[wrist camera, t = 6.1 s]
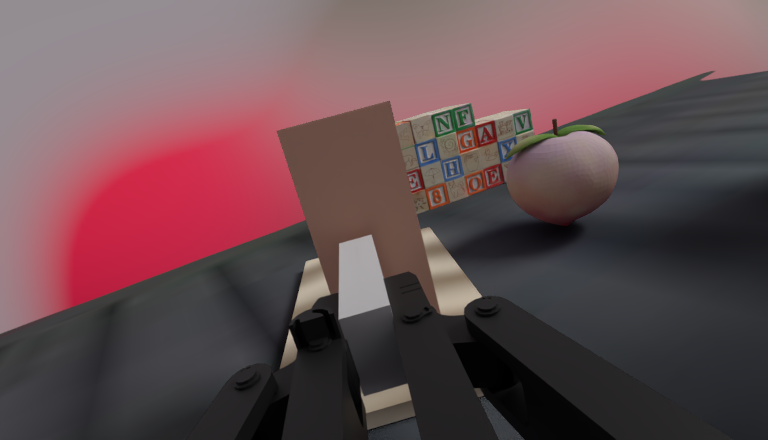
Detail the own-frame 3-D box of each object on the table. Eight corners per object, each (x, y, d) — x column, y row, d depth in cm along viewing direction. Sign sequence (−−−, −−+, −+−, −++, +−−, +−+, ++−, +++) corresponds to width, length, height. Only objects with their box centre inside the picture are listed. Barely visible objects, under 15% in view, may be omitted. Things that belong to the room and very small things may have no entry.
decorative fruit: (560, 256, 31) (544, 133, 28) (501, 232, 38) (484, 133, 36) (649, 219, 33) (643, 101, 30) (576, 203, 41) (566, 108, 38)
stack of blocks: (513, 168, 62) (501, 90, 58) (540, 171, 56) (528, 85, 53) (393, 209, 57) (372, 127, 53) (409, 218, 51) (386, 126, 47)
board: (536, 380, 19) (533, 364, 19) (268, 459, 19) (261, 443, 19) (431, 235, 42) (429, 227, 42) (308, 269, 42) (306, 261, 42)
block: (453, 366, 20) (389, 100, 16) (363, 393, 20) (276, 130, 16) (432, 318, 25) (379, 103, 21) (359, 339, 25) (291, 126, 21)
